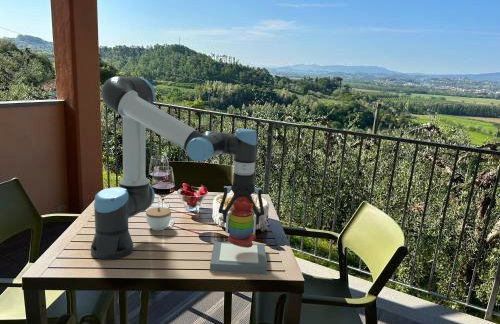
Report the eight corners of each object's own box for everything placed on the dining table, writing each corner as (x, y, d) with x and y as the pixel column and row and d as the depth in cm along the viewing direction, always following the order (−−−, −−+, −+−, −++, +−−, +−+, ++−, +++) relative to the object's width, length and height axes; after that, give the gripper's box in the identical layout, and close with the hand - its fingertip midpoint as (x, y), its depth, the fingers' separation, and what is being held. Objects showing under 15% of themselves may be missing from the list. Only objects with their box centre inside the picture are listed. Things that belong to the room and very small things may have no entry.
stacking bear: (251, 248, 130) (254, 201, 127) (223, 244, 132) (226, 197, 128) (256, 236, 141) (259, 192, 137) (231, 233, 143) (233, 189, 139)
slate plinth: (209, 271, 129) (210, 262, 128) (213, 248, 147) (214, 240, 146) (266, 274, 130) (267, 265, 129) (263, 251, 147) (264, 243, 147)
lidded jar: (150, 222, 169) (150, 203, 167) (173, 224, 169) (173, 204, 167) (142, 231, 158) (142, 211, 156) (167, 233, 158) (167, 212, 156)
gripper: (212, 173, 127) (209, 234, 132) (275, 177, 128) (270, 237, 132) (213, 168, 134) (211, 226, 139) (273, 171, 135) (269, 229, 140)
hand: (240, 231), depth 136 cm, fingers closed on stacking bear, 9 cm apart
